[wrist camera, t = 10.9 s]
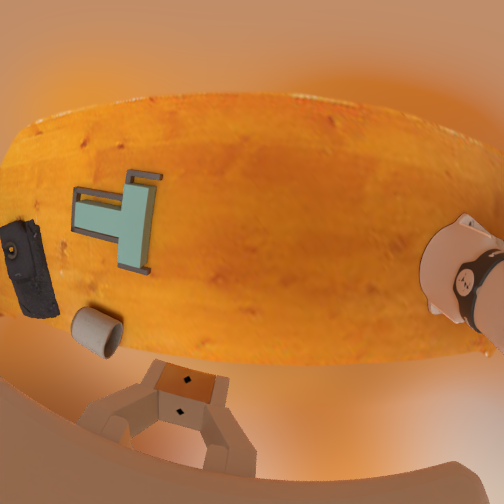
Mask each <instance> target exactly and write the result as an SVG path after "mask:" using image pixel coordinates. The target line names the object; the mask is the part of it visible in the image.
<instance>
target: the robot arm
mask: <svg viewBox="0 0 504 504" xmlns="http://www.w3.org/2000/svg"><path fill="white" fill-rule="evenodd" d="M469 222H470V224H469ZM420 284H421V287H422V290H423V292H424V294H425V295H426V297H427V299H428V309H429V311H430V312H431V313H432V314H444V315H445V316H447V317H448V318H449V319H450V320H452V321H453V322H454V323H456V324H458V323H463V322H466V323H467V324H468V326H469V327H471V328H472V329H474V330H475V331H477V332H478V333H482V334H484V335H485V336H486V337H487V338H488V339H489V340H490V341H491V342H492V343H493V344H494V345H495V346H496V347H497V348H498V349H499V350H500V351H501V352H502V353H503V354H504V241H503V240H501V239H499V238H497V237H495V236H494V235H491V234H490V233H489V232H488V231H487V230H486V229H484V228H483V227H482V226H481V225H480V224H479V223H478V222H477V221H476V220H474V219H473V218H472V217H471V216H470V215H468V214H466V213H463V214H462V215H461V216H460V217H459V218H458V219H457V220H456V221H455V222H454V223H453V224H451V225H449V226H447V227H445V228H443V229H441V230H440V231H439V232H438V233H437V234H436V235H435V236H434V237H433V238H432V239H431V241H430V242H429V244H428V246H427V247H426V249H425V252H424V254H423V257H422V260H421V265H420ZM215 379H216V380H215ZM228 386H229V378H228V377H223V376H218V375H217V376H216V375H213V374H209V373H204V372H200V371H196V370H191V369H188V368H185V367H181V366H177V365H174V364H171V363H167V362H164V361H161V360H158V359H155V360H154V361H153V362H152V364H151V366H150V368H149V369H148V371H147V373H146V375H145V377H144V379H143V380H142V382H141V384H134V385H132V386H130V387H127V388H125V389H123V390H120V391H118V392H116V393H113V394H111V395H108V396H106V397H103V398H101V399H98V400H96V401H93V402H91V403H89V405H88V406H87V408H86V409H85V411H84V412H83V414H82V415H81V417H80V418H79V420H78V422H77V423H76V424H74V423H72V422H70V421H68V420H67V419H65V418H63V417H61V416H59V415H57V414H56V413H54V412H52V411H50V410H49V409H47V408H46V407H44V406H42V405H41V404H39V403H38V402H36V401H34V400H33V399H31V398H30V397H28V396H27V395H25V394H24V393H22V392H21V391H19V390H18V389H17V388H15V387H14V386H12V385H11V384H10V383H8V382H7V381H6V380H4V379H3V378H2V377H1V376H0V504H490V503H489V500H488V497H487V494H486V492H485V489H484V486H483V484H482V482H481V480H480V478H479V477H478V475H476V474H475V473H474V472H472V471H471V470H470V469H468V468H467V467H465V466H463V465H462V464H460V463H458V462H456V461H451V462H447V463H444V464H440V465H436V466H432V467H428V468H424V469H420V470H415V471H410V472H405V473H400V474H395V475H388V476H381V477H374V478H366V479H355V480H339V481H285V480H271V479H260V478H255V474H256V455H257V451H256V449H255V448H254V447H253V445H252V444H251V442H250V441H249V439H248V438H247V436H246V435H245V433H244V432H243V430H242V429H241V427H240V426H239V424H238V422H237V421H236V419H235V418H234V416H233V415H232V413H231V411H230V410H229V408H225V403H226V397H227V391H228ZM158 420H161V421H165V422H169V423H172V424H177V425H180V426H183V427H187V428H191V429H194V430H198V431H200V433H201V435H202V437H203V439H204V442H205V444H206V446H207V452H206V457H205V461H204V465H203V469H198V468H194V467H189V466H186V465H182V464H178V463H174V462H171V461H167V460H164V459H160V458H157V457H153V456H151V455H148V454H145V453H142V452H139V451H136V450H134V449H133V446H132V442H131V438H133V437H134V436H136V435H137V434H139V433H140V432H142V431H143V430H145V429H146V428H148V427H149V426H151V425H152V424H154V423H155V422H157V421H158Z"/></svg>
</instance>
